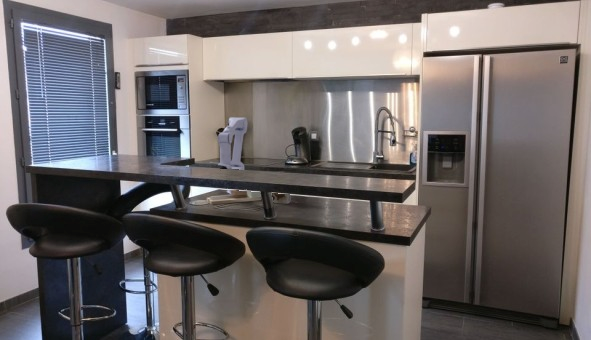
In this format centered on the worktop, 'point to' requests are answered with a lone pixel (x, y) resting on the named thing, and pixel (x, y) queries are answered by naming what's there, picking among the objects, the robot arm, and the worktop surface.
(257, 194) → the gauge cabinet
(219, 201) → the rail board
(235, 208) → the worktop surface
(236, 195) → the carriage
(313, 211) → the worktop surface
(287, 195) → the coffee box
